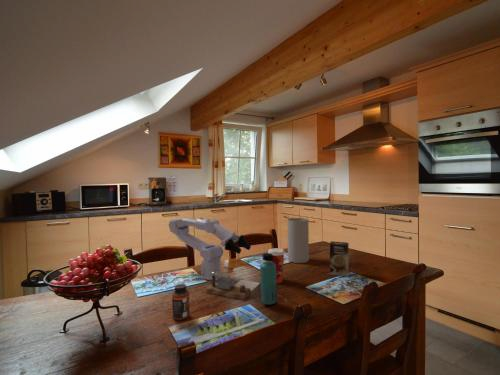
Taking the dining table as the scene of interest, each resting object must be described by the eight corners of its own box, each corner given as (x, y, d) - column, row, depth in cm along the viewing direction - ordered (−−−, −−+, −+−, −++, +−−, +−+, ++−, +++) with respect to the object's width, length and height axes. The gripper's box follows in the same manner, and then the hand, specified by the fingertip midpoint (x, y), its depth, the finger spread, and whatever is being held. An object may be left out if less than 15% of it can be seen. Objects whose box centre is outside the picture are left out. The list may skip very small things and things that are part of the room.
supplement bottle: (190, 319, 92) (189, 288, 92) (172, 322, 90) (171, 290, 90) (189, 311, 98) (188, 281, 97) (172, 314, 96) (171, 283, 96)
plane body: (206, 292, 114) (206, 277, 114) (215, 286, 120) (214, 272, 120) (243, 299, 106) (242, 283, 106) (250, 293, 113) (250, 277, 112)
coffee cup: (284, 284, 121) (283, 252, 121) (266, 283, 123) (266, 252, 122) (285, 278, 129) (285, 248, 129) (269, 277, 131) (268, 247, 130)
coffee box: (329, 274, 132) (329, 243, 132) (330, 270, 138) (330, 240, 138) (348, 277, 129) (348, 245, 129) (348, 272, 135) (348, 242, 135)
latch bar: (210, 275, 116) (209, 272, 116) (212, 273, 118) (212, 271, 117) (227, 278, 112) (227, 275, 112) (230, 276, 114) (230, 273, 114)
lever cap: (217, 288, 113) (217, 280, 113) (222, 285, 117) (222, 276, 117) (229, 291, 110) (229, 282, 110) (234, 287, 114) (234, 278, 114)
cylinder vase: (285, 258, 162) (285, 218, 162) (304, 257, 164) (304, 217, 163) (291, 264, 150) (290, 221, 149) (311, 263, 151) (311, 220, 151)
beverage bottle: (272, 310, 98) (271, 257, 97) (257, 305, 101) (256, 255, 101) (280, 302, 103) (279, 253, 103) (265, 299, 107) (264, 251, 106)
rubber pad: (232, 287, 119) (232, 286, 119) (241, 280, 127) (241, 279, 127) (252, 291, 114) (252, 290, 114) (259, 283, 123) (259, 282, 123)
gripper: (217, 230, 120) (238, 245, 113) (236, 225, 132) (256, 239, 125) (212, 243, 121) (233, 259, 114) (231, 237, 133) (251, 251, 126)
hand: (245, 249), depth 120 cm, fingers open, 7 cm apart
